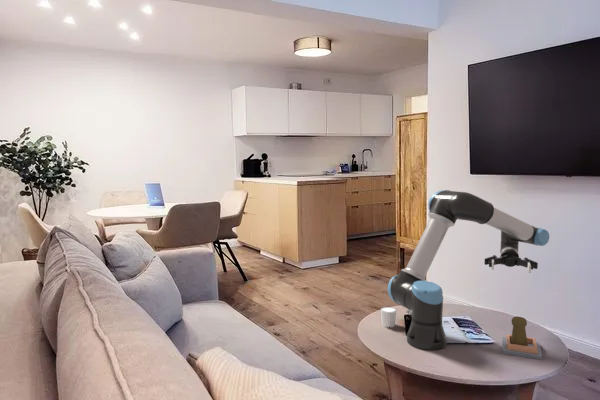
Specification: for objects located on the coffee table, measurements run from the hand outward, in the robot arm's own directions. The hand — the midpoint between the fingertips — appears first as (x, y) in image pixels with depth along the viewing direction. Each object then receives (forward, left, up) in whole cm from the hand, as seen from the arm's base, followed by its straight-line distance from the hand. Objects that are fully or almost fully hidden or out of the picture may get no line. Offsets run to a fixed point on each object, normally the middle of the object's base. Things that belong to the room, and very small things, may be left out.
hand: (510, 267), depth 178 cm
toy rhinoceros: (-36, +6, -28) cm, 46 cm away
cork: (+3, -14, -27) cm, 30 cm away
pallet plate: (+4, -14, -28) cm, 31 cm away
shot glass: (-48, -9, -28) cm, 56 cm away
